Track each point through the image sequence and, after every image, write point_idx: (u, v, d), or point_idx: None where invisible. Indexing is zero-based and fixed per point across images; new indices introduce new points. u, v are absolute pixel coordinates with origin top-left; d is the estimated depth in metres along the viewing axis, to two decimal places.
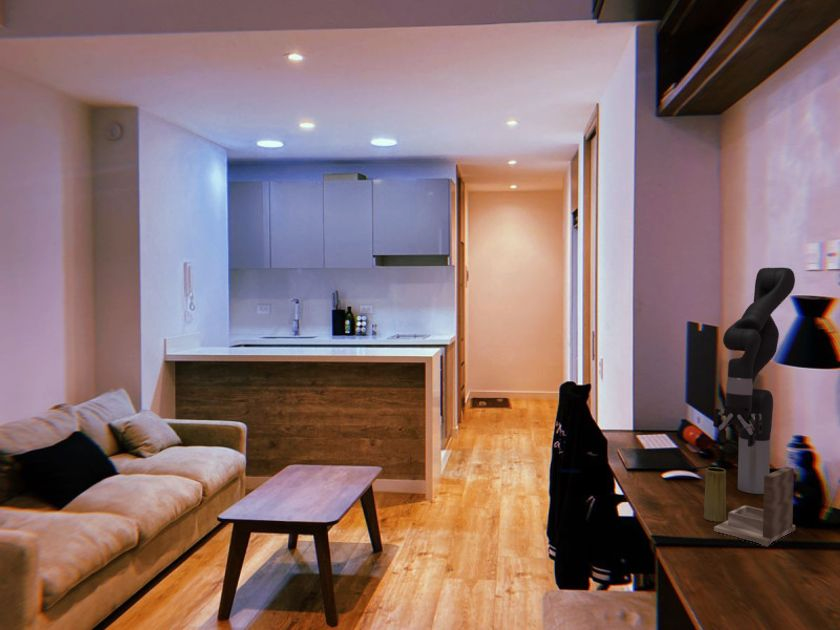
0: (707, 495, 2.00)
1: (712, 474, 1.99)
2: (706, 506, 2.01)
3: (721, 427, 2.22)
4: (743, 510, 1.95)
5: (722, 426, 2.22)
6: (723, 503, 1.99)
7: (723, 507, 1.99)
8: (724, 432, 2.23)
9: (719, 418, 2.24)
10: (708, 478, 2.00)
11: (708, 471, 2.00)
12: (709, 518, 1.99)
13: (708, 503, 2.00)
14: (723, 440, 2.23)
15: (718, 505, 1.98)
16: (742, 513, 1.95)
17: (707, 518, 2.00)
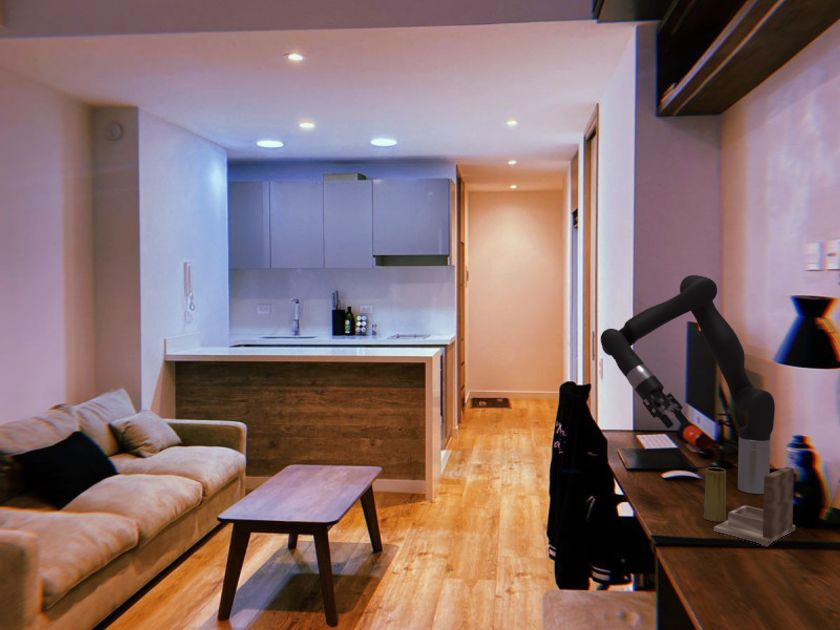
0: (707, 495, 2.00)
1: (712, 474, 1.99)
2: (706, 506, 2.01)
3: None
4: (743, 510, 1.95)
5: None
6: (723, 503, 1.99)
7: (723, 507, 1.99)
8: (678, 415, 2.13)
9: None
10: (708, 478, 2.00)
11: (708, 471, 2.00)
12: (709, 518, 1.99)
13: (708, 503, 2.00)
14: (682, 422, 2.12)
15: (718, 505, 1.98)
16: (742, 513, 1.95)
17: (707, 518, 2.00)
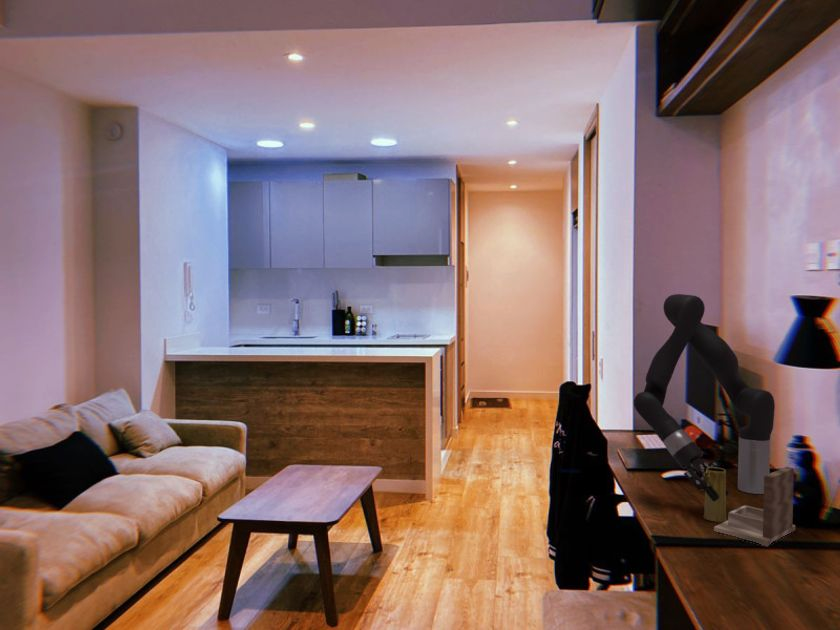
0: (707, 495, 2.00)
1: (712, 474, 1.99)
2: (706, 506, 2.01)
3: None
4: (743, 510, 1.95)
5: None
6: (723, 503, 1.99)
7: (723, 507, 1.99)
8: None
9: None
10: (708, 478, 2.00)
11: (708, 471, 2.00)
12: (709, 518, 1.99)
13: (708, 503, 2.00)
14: None
15: (718, 505, 1.98)
16: (742, 513, 1.95)
17: (707, 518, 2.00)
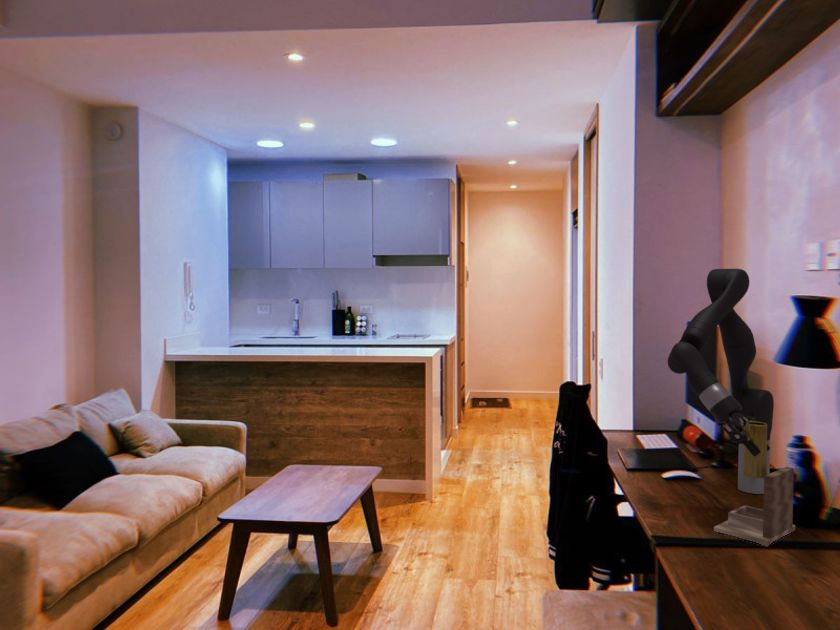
0: (747, 450, 1.90)
1: (753, 428, 1.88)
2: (746, 462, 1.90)
3: None
4: (743, 510, 1.95)
5: None
6: (764, 458, 1.88)
7: (764, 463, 1.88)
8: None
9: None
10: (749, 432, 1.89)
11: (748, 425, 1.89)
12: (749, 474, 1.89)
13: (748, 458, 1.89)
14: None
15: (759, 461, 1.88)
16: (742, 513, 1.95)
17: (747, 474, 1.89)
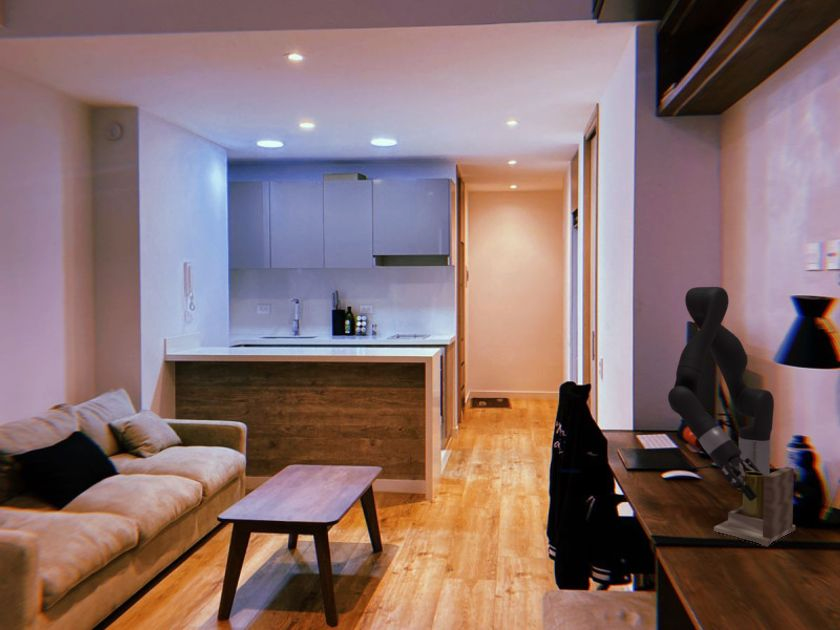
0: (745, 500, 1.90)
1: (751, 479, 1.89)
2: (744, 512, 1.91)
3: None
4: None
5: None
6: None
7: None
8: None
9: None
10: None
11: (746, 475, 1.90)
12: None
13: (746, 509, 1.90)
14: None
15: (757, 511, 1.88)
16: None
17: None
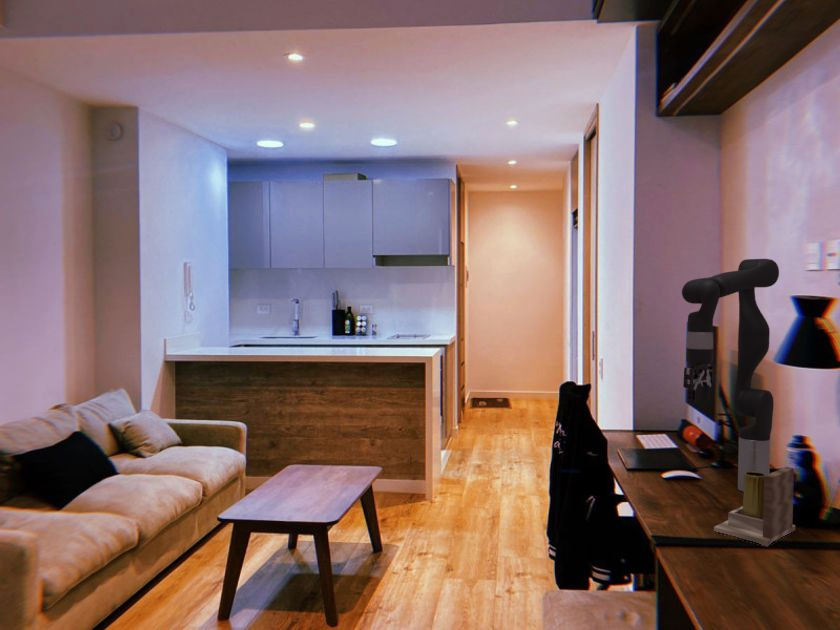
0: (746, 501, 1.90)
1: (752, 479, 1.89)
2: (745, 512, 1.90)
3: None
4: None
5: None
6: None
7: None
8: (704, 389, 2.14)
9: None
10: (747, 483, 1.90)
11: (747, 475, 1.90)
12: None
13: (747, 509, 1.90)
14: (703, 397, 2.14)
15: (757, 512, 1.88)
16: (742, 513, 1.95)
17: None
